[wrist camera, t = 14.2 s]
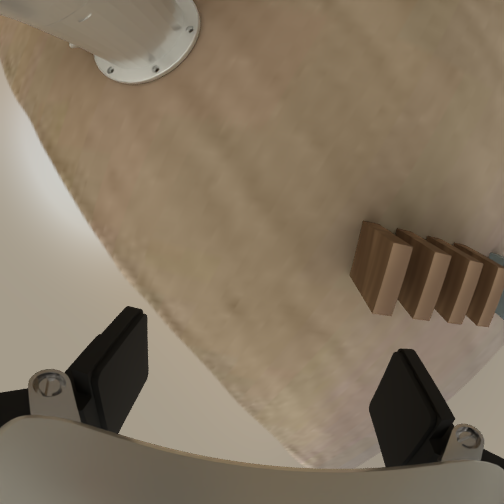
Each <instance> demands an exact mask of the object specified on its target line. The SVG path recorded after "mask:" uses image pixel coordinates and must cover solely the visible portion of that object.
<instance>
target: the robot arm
mask: <svg viewBox="0 0 504 504" xmlns="http://www.w3.org/2000/svg"><path fill="white" fill-rule="evenodd" d="M0 15H3V16H6V17H9V18H12V19H15V20H17V21H20V22H22V23H25V24H28V25H30V26H32V27H34V28H37V29H39V30H42V31H44V32H46V33H49V34H51V35H53V36H55V37H58V38H60V39H62V40H64V41H67V42H69V46H70V48H77V47H79V48H82V49H84V50H86V51H88V52H90V53H92V54H93V55H94V59H95V62H96V64H97V66H98V68H99V70H100V71H101V72H102V73H103V74H104V75H105V76H107V77H109V78H110V79H112V80H114V81H117V82H120V83H125V84H141V83H146V82H150V81H152V80H155V79H158V78H160V77H162V76H164V75H165V74H167V73H169V72H170V71H172V70H173V69H174V68H176V67H177V66H178V65H179V64H180V63H181V62H182V61H183V60H184V59H185V58H186V57H187V55H188V54H189V53H190V51H191V50H192V49H193V47H194V45H195V43H196V41H197V38H198V35H199V32H200V22H201V21H200V15H199V11H198V9H197V7H196V5H195V3H194V2H193V0H0ZM191 31H193V32H191ZM190 32H191V33H190ZM158 69H159V71H158V72H157V70H158ZM147 377H148V341H147V315H146V314H143V311H142V309H138V308H134V307H130V306H127V307H126V308H125V309H124V310H123V311H122V312H121V313H120V314H119V315H118V316H117V317H116V318H115V319H114V321H113V322H112V323H111V324H110V325H109V326H108V327H107V328H106V329H105V330H104V332H103V333H102V334H99V335H98V336H97V337H96V338H95V339H94V340H93V341H92V342H91V343H90V344H89V345H88V346H87V348H86V349H85V350H84V351H83V352H82V353H81V354H80V355H79V357H78V358H77V359H76V360H75V361H74V363H72V365H71V366H70V367H69V368H68V369H67V370H66V371H65V373H63V372H61V371H59V370H55V369H46V370H41V371H39V372H37V373H35V374H34V375H33V376H32V377H31V378H30V380H29V383H28V388H27V389H21V390H15V391H8V392H2V393H0V504H504V459H503V458H501V457H499V456H497V455H495V454H492V453H490V452H489V451H487V450H485V449H483V448H484V438H483V435H482V434H481V432H480V431H479V430H478V429H477V428H475V427H473V426H471V425H468V424H459V425H456V426H455V427H454V425H453V422H454V420H455V417H454V416H453V414H452V412H451V410H450V409H449V407H448V405H447V403H446V402H445V400H444V398H443V396H442V395H441V393H440V391H439V390H438V388H437V386H436V384H435V383H434V381H433V379H432V378H431V376H430V375H429V373H428V371H427V370H426V368H425V366H424V365H423V363H422V362H421V360H420V358H419V357H418V355H417V354H416V352H415V351H414V350H413V349H399V350H398V351H397V352H394V353H393V355H392V357H391V360H390V362H389V364H388V367H387V369H386V371H385V373H384V375H383V378H382V380H381V382H380V384H379V386H378V388H377V390H376V392H375V394H374V396H373V398H372V400H371V402H370V406H369V412H370V415H371V419H372V422H373V425H374V428H375V432H376V435H377V438H378V442H379V445H380V449H381V452H382V456H383V459H384V463H385V466H386V467H382V468H365V469H364V468H363V469H313V468H292V467H280V466H269V465H260V464H251V463H244V462H237V461H230V460H223V459H218V458H212V457H207V456H202V455H197V454H192V453H187V452H183V451H179V450H174V449H170V448H166V447H162V446H158V445H155V444H151V443H147V442H143V441H140V440H136V439H133V438H130V437H126V436H123V435H120V434H118V433H119V431H120V429H121V427H122V425H123V423H124V421H125V419H126V417H127V415H128V414H129V412H130V410H131V408H132V406H133V404H134V402H135V401H136V399H137V397H138V395H139V393H140V391H141V389H142V387H143V386H144V383H145V382H146V380H147Z"/></svg>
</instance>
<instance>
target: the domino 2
mask: <svg viewBox="0 0 504 504" xmlns="http://www.w3.org/2000/svg"><path fill="white" fill-rule="evenodd" d="M396 236H398V237H399V238H400V239H402V240H403V241H405V242H406V243H408V244H409V245H411V246H412V247H413V249H412V253H411V257H410V260H409V264H408V267H407V270H406V274H405V277H404V280H403V283H402V286H401V290H400V293H399V296H398V300H399V302H400V303H401V304H402V306H403V307H404V308H405V309H406V311H407V312H408V313H409V314H410V316H411V317H412V318H413V319H418V320H426V321H429V320H430V318H431V315H432V313H433V310H434V307H435V305H436V302H437V299H438V296H439V294H440V291H441V288H442V285H443V282H444V279H445V276H446V273H447V269H448V266H449V263H450V260H451V255H449V254H448V253H446V252H444V251H443V250H441V249H440V248H438V247H436V246H435V245H433V244H431V243H430V242H428V241H426V240H425V239H423V238H421V237H419V236H418V235H416V234H414V233H413V232H410V231H406V230H402V229H397V231H396Z"/></svg>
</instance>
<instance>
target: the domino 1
mask: <svg viewBox="0 0 504 504" xmlns="http://www.w3.org/2000/svg"><path fill="white" fill-rule="evenodd" d="M412 249H413V247H412V246H411V245H409V244H408V243H406V242H405V241H403V240H402V239H400V238H399V237H398V236H396V235H394V234H393V233H391V232H390V231H388V230H387V229H385V228H384V227H382V226H381V225H379V224H375V223H371V222H366V221H363V224H362V228H361V232H360V236H359V241H358V245H357V249H356V253H355V257H354V261H353V264H352V268H351V272H350V277H351V278H352V280H353V282H354V283H355V285H356V287H357V288H358V290H359V292H360V293H361V295H362V297H363V298H364V300H365V302H366V303H367V305H368V307H369V309H370V310H371V312H372V314H380V315H387V316H392V313H393V310H394V307H395V304H396V302H397V299H398V296H399V293H400V290H401V286H402V283H403V280H404V277H405V274H406V270H407V267H408V264H409V260H410V257H411V253H412Z"/></svg>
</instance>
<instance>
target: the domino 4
mask: <svg viewBox="0 0 504 504" xmlns="http://www.w3.org/2000/svg"><path fill="white" fill-rule="evenodd" d="M453 246H454V247H456V248H458V249H459V250H461V251H463V252H465V253H466V254H468V255H470V256H472V257H473V258H475V259H477V260H478V261H480V262H482V263H483V267H482V270H481V274H480V277H479V280H478V283H477V285H476V288H475V291H474V294H473V297H472V299H471V302H470V305H469V307H468V310H467V312H466V316H467V317H468V318H469V319H471V320H472V321H473V322H474V323H475V324H476V325H477V326H484V327H489V325H490V323H491V320H492V318H493V315H494V313H495V311H496V308H497V305H498V303H499V300H500V297H501V295H502V292H503V289H504V267H503V266H502V265H500V264H498V263H497V262H495V261H493V260H491V259H489V258H488V257H486V256H484V255H482V254H480V253H479V252H477V251H475V250H473V249H471V248H469V247H467V246H465V245H462V244H458V243H454V245H453Z"/></svg>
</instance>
